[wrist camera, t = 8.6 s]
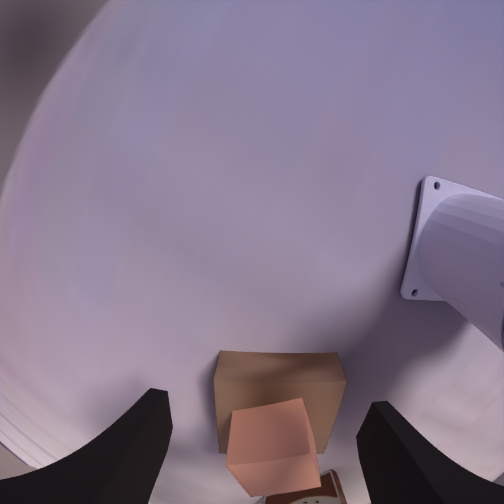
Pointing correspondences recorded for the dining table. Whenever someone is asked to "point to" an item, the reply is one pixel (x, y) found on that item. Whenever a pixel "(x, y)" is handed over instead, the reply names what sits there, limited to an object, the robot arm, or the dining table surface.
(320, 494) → the food container
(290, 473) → the terracotta cube
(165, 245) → the dining table surface
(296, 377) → the walnut block
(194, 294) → the dining table surface
